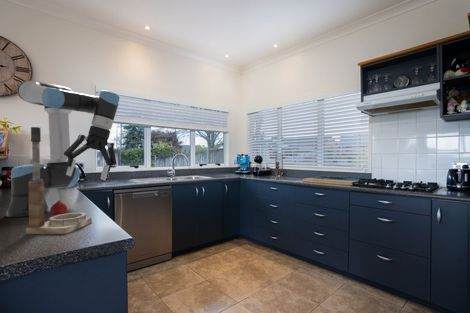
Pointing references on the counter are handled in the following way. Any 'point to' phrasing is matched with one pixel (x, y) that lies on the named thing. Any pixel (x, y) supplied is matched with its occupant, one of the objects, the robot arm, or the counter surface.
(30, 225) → the press
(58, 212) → the onion
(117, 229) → the counter surface
